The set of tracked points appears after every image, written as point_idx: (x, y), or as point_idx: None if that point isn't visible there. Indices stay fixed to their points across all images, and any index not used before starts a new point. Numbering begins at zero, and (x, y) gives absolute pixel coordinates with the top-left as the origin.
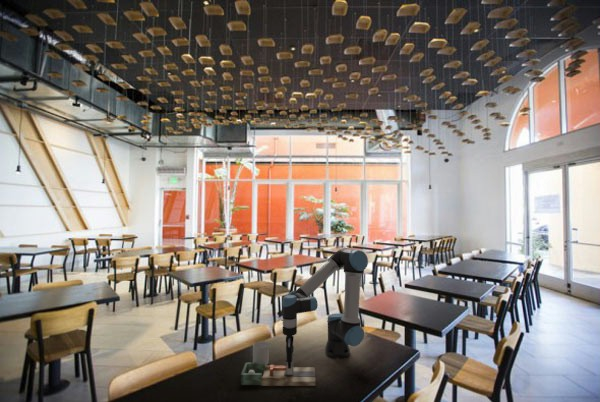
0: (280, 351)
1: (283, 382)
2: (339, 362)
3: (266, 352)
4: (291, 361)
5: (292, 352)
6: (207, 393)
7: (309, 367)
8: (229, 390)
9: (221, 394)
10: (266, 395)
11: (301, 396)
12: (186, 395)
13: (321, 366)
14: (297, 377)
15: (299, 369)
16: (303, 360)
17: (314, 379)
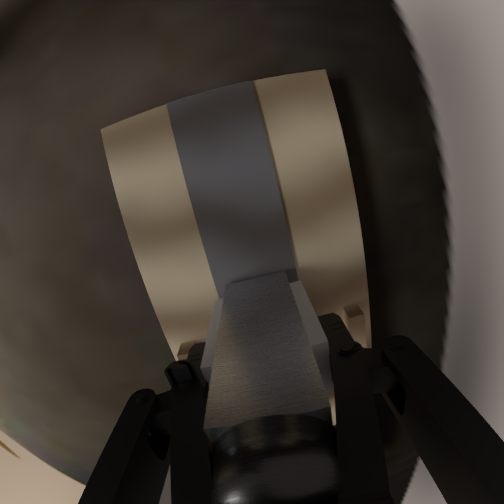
0: (20, 390)
1: (367, 309)
2: (9, 37)
3: (162, 495)
4: (409, 340)
5: (315, 418)
6: (399, 483)
7: (112, 169)
8: (391, 460)
9: (410, 461)
10: (439, 344)
11: (443, 160)
12: (400, 499)
13: (50, 110)
14: (299, 227)
15: (166, 244)
16: (21, 256)
17: (296, 79)
